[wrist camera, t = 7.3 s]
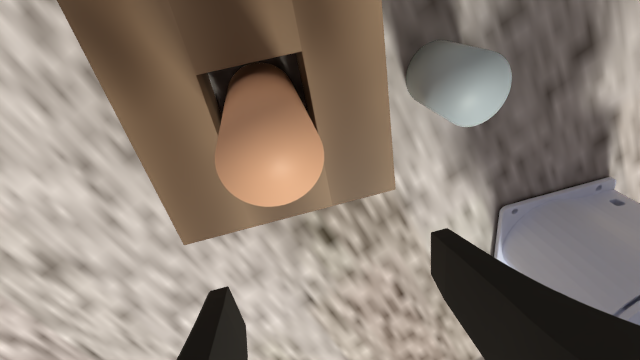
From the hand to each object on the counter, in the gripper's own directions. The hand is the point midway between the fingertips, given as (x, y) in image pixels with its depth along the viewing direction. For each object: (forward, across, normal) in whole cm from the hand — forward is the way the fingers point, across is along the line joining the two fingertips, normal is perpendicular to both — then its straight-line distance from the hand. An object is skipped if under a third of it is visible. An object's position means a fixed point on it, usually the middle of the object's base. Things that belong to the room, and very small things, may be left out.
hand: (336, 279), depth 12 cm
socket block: (+10, +1, -4) cm, 11 cm away
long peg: (+10, +1, -4) cm, 11 cm away
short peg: (+10, -9, -3) cm, 14 cm away
